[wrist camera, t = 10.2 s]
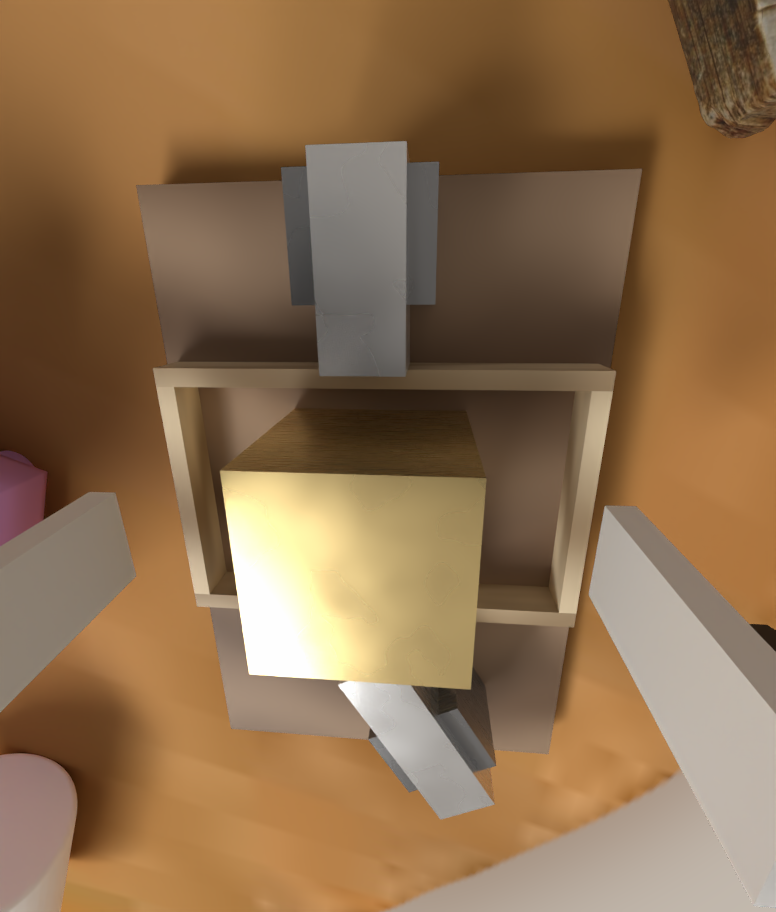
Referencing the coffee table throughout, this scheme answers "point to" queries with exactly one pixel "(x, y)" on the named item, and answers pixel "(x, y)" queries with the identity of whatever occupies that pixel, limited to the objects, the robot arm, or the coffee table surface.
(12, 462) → the teapot
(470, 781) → the shafts
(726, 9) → the stone
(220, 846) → the coffee table surface
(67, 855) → the mug
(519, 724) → the framed base plate
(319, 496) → the gold cube
